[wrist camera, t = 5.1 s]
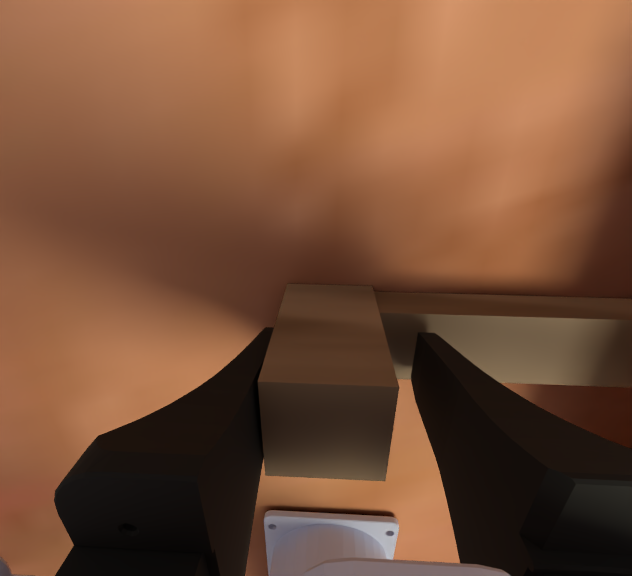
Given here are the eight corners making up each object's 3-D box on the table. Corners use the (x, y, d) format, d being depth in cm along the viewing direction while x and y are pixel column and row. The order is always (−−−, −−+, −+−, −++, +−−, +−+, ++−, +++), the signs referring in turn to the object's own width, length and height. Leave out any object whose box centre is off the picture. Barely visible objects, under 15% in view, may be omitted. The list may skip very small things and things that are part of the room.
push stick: (679, 366, 14) (889, 505, 9) (289, 353, 15) (265, 475, 10) (722, 295, 13) (1000, 410, 8) (287, 283, 14) (257, 381, 8)
